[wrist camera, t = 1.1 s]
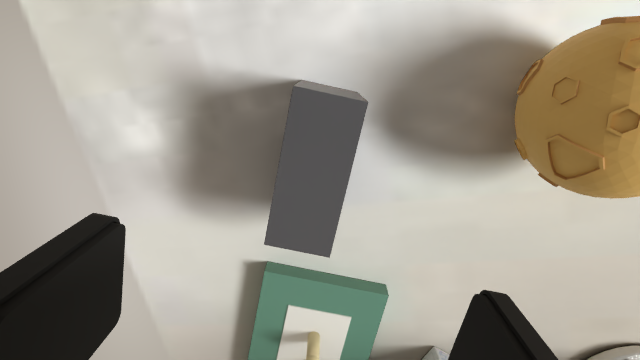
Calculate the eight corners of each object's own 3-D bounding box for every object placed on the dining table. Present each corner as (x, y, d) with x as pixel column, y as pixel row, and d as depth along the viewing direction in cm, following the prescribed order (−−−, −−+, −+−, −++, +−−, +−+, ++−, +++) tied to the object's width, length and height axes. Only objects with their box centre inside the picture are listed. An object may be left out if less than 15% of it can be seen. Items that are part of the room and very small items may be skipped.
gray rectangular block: (357, 92, 26) (368, 102, 19) (329, 212, 29) (329, 257, 22) (302, 79, 26) (293, 85, 19) (278, 202, 29) (263, 244, 22)
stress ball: (636, 94, 27) (725, -46, 18) (708, 217, 22) (876, 102, 13) (488, 116, 29) (509, 1, 21) (522, 232, 24) (566, 142, 16)
